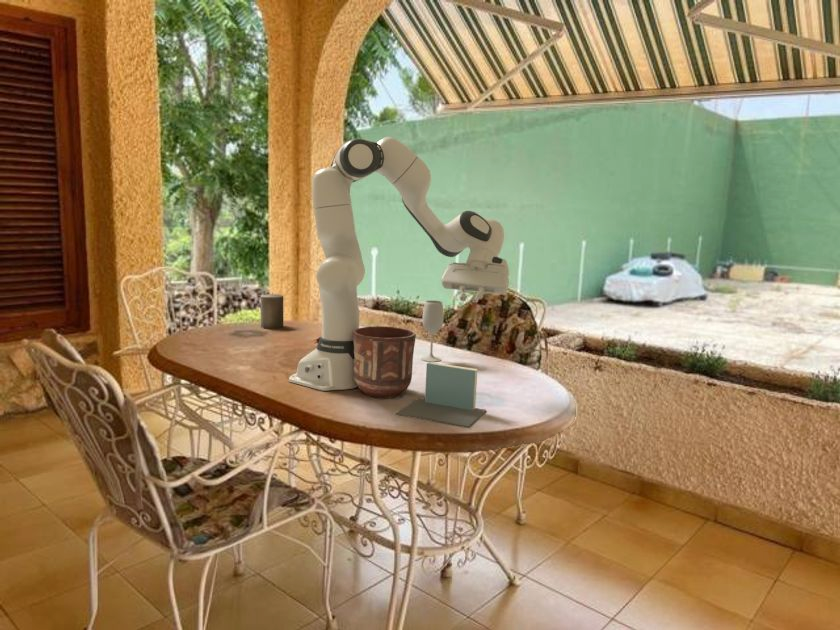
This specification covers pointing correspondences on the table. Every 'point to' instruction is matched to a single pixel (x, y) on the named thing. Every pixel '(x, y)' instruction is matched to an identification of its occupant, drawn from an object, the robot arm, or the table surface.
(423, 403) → the mat
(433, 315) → the wineglass
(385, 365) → the pottery
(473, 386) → the tile
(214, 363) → the table surface
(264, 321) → the pillar candle
